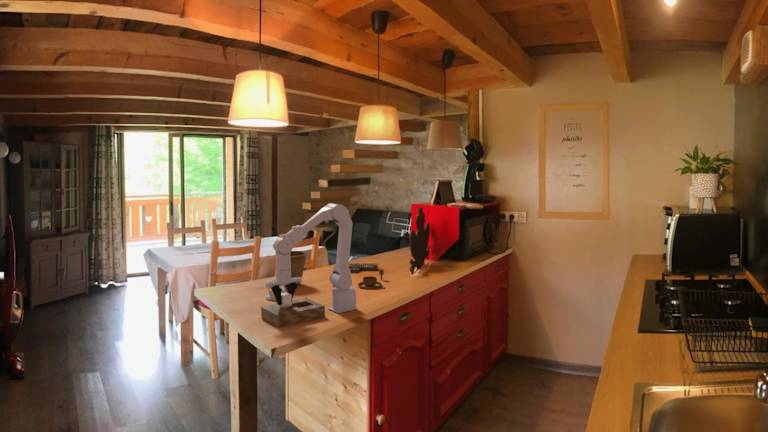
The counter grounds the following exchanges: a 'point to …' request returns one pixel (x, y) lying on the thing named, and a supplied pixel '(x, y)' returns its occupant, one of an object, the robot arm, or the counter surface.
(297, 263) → the plant pot
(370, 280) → the place setting
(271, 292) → the mechanical component
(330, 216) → the robot arm
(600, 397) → the counter surface
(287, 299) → the keyed peg
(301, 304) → the keyhole plate
